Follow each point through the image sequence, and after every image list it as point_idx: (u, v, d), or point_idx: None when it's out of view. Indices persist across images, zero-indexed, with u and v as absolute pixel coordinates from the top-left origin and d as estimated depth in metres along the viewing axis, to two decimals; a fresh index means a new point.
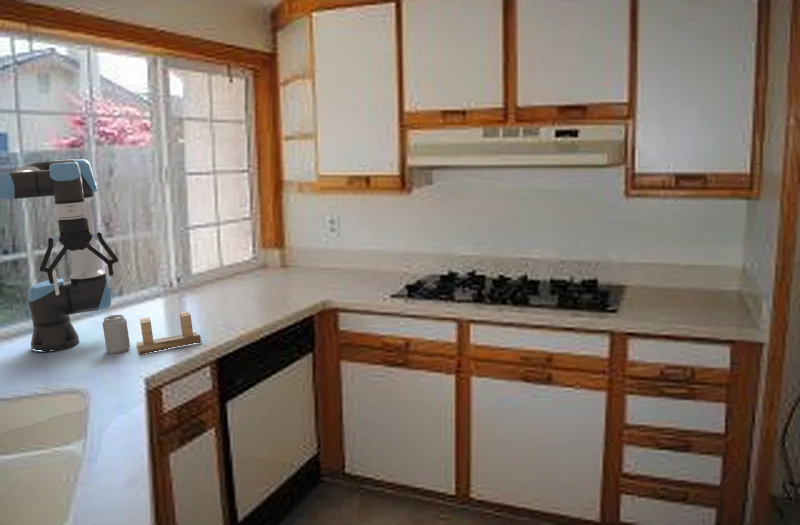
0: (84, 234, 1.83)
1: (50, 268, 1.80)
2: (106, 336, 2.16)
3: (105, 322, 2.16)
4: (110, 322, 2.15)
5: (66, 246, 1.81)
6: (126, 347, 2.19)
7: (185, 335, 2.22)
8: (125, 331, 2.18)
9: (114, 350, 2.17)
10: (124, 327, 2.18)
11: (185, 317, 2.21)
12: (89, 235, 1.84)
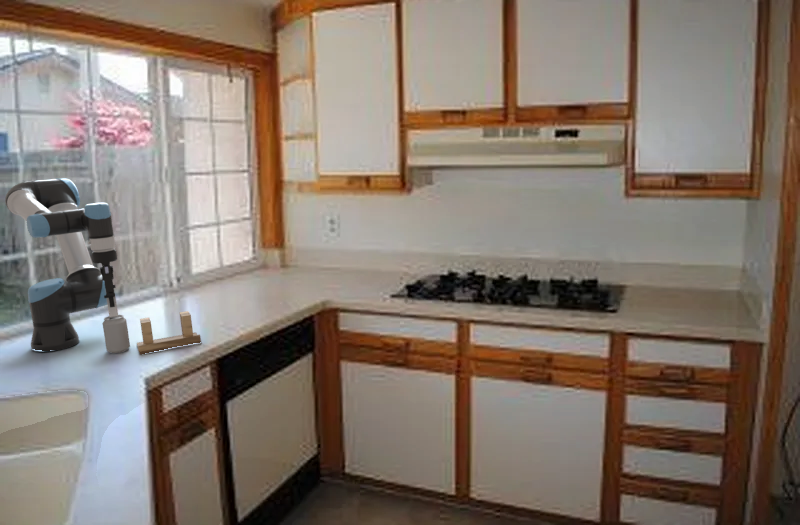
0: (102, 266, 2.12)
1: None
2: (106, 336, 2.16)
3: (105, 322, 2.16)
4: (110, 322, 2.15)
5: None
6: (126, 347, 2.19)
7: (185, 335, 2.22)
8: (125, 331, 2.18)
9: (114, 350, 2.17)
10: (124, 327, 2.18)
11: (185, 317, 2.21)
12: None
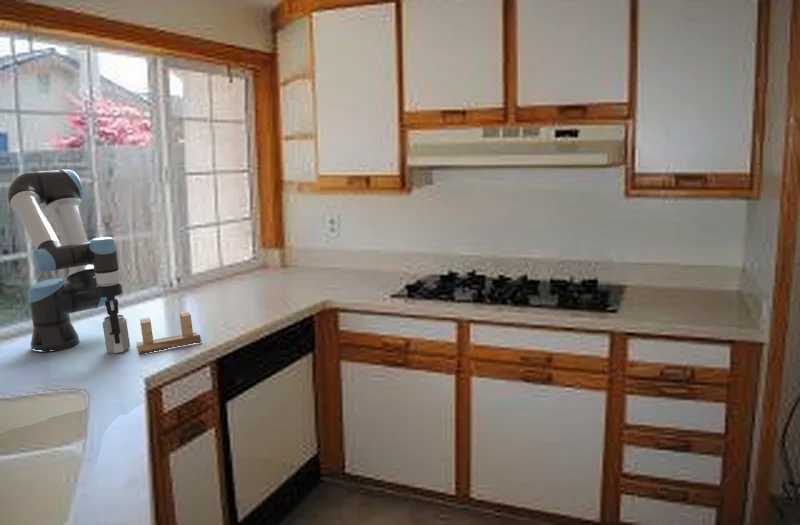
0: (107, 299, 2.14)
1: None
2: (106, 336, 2.16)
3: (105, 322, 2.16)
4: (110, 322, 2.15)
5: None
6: (126, 347, 2.19)
7: (185, 335, 2.22)
8: (125, 331, 2.18)
9: None
10: (124, 327, 2.18)
11: (185, 317, 2.21)
12: (108, 302, 2.13)
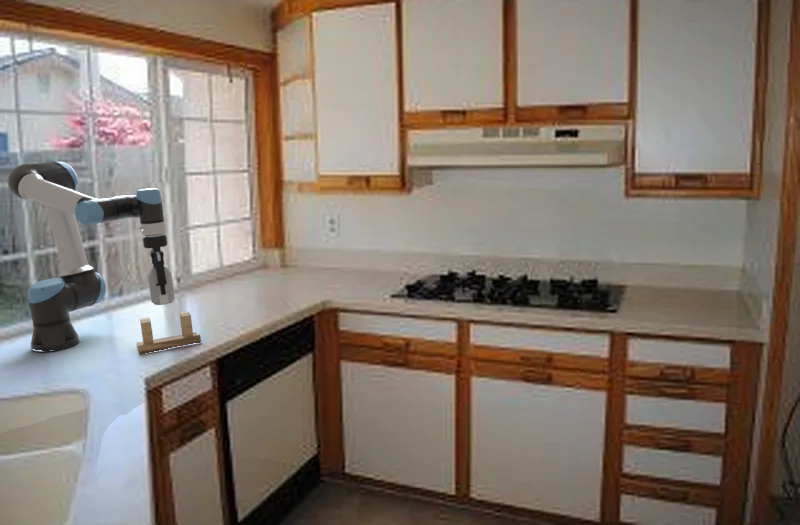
0: (153, 250, 2.14)
1: None
2: (152, 287, 2.16)
3: (151, 273, 2.16)
4: None
5: None
6: (171, 299, 2.19)
7: (185, 335, 2.22)
8: (170, 283, 2.18)
9: (159, 301, 2.17)
10: (169, 279, 2.18)
11: (185, 317, 2.21)
12: (154, 253, 2.13)
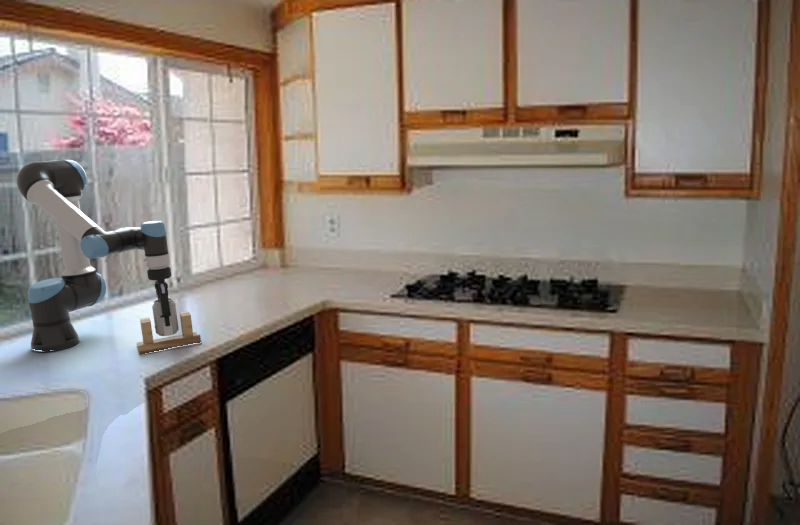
0: (157, 282, 2.16)
1: None
2: (156, 319, 2.18)
3: (155, 305, 2.18)
4: (160, 305, 2.17)
5: None
6: (175, 330, 2.21)
7: (185, 335, 2.22)
8: (174, 314, 2.20)
9: None
10: (173, 310, 2.20)
11: (185, 317, 2.21)
12: (158, 285, 2.15)
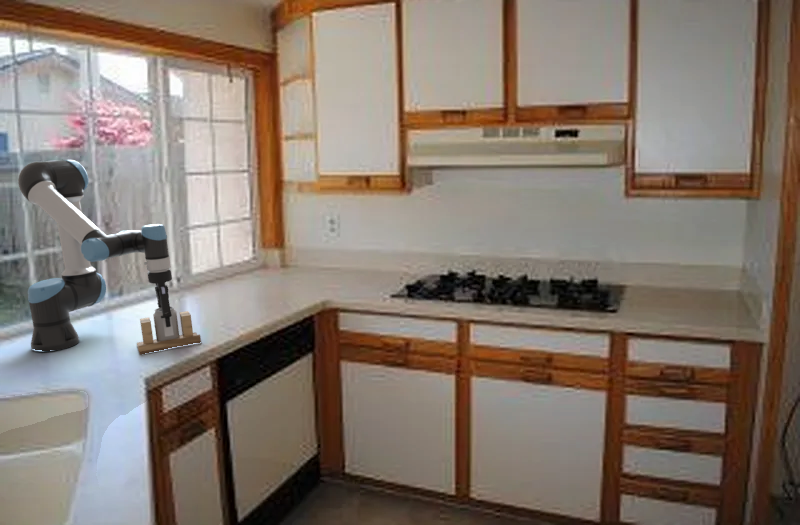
0: (158, 286, 2.17)
1: (158, 304, 2.27)
2: (157, 327, 2.19)
3: (156, 313, 2.19)
4: (161, 313, 2.18)
5: None
6: (176, 338, 2.22)
7: (185, 335, 2.22)
8: (175, 322, 2.21)
9: None
10: (174, 319, 2.21)
11: (185, 317, 2.21)
12: (158, 288, 2.16)
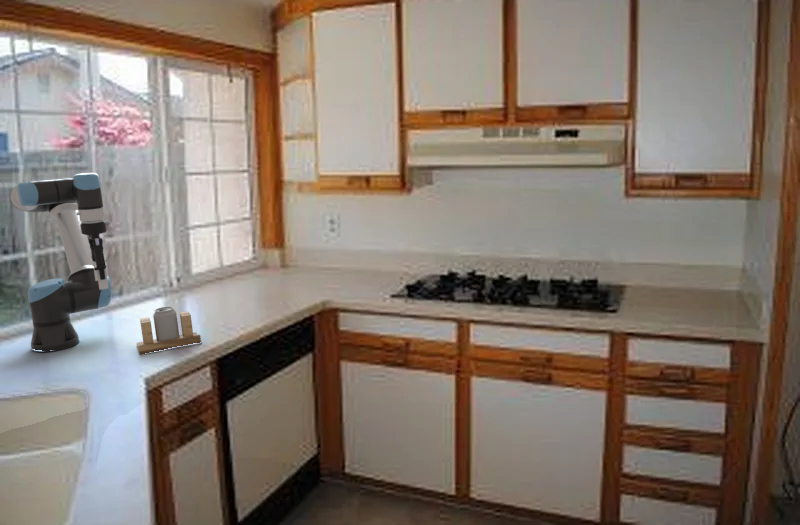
0: (91, 237, 2.08)
1: (92, 258, 2.18)
2: (157, 327, 2.19)
3: (156, 314, 2.19)
4: (161, 314, 2.18)
5: None
6: (176, 338, 2.22)
7: (185, 335, 2.22)
8: (175, 323, 2.21)
9: None
10: (174, 319, 2.21)
11: (185, 317, 2.21)
12: (92, 239, 2.07)
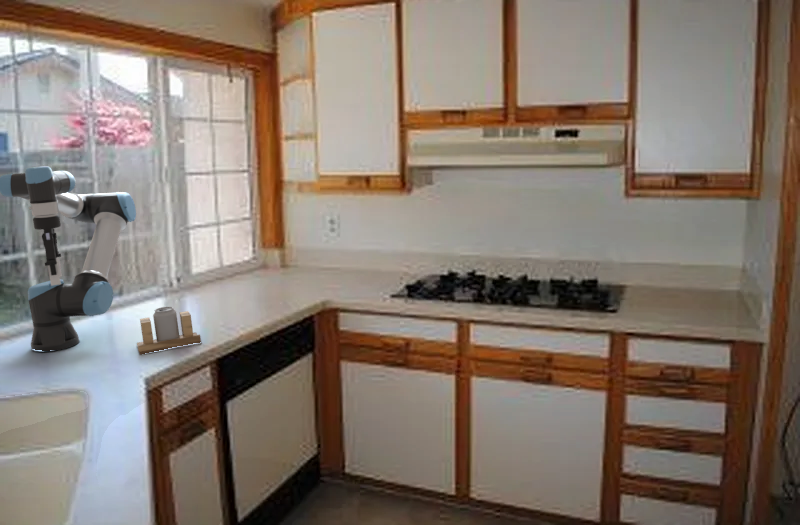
0: (44, 232, 2.03)
1: None
2: (157, 327, 2.19)
3: (156, 314, 2.19)
4: (161, 314, 2.18)
5: None
6: (176, 338, 2.22)
7: (185, 335, 2.22)
8: (175, 323, 2.21)
9: None
10: (174, 319, 2.21)
11: (185, 317, 2.21)
12: None
